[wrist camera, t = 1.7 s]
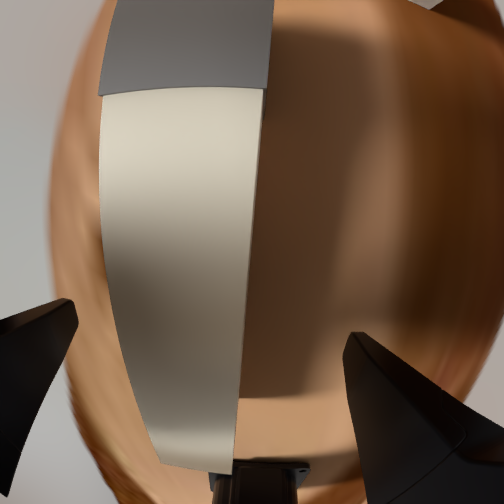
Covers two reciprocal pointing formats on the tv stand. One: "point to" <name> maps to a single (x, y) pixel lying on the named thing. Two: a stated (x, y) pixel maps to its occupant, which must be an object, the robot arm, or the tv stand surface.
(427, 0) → the tile
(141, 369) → the curved white panel
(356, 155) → the tv stand surface
